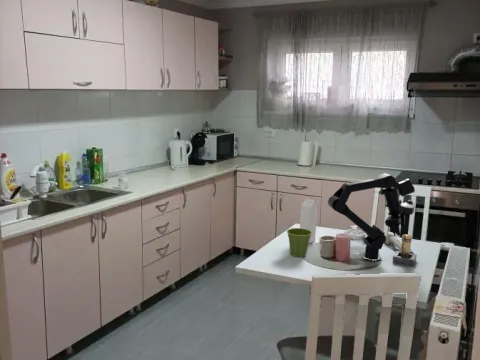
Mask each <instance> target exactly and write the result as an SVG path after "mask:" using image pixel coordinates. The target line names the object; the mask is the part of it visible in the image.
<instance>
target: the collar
mask: <svg viewBox="0 0 480 360" xmlns="http://www.w3.org/2000/svg"><path fill="white" fill-rule="evenodd" d="M400 253H401V251H400V250H396V251H395V252H394V254H393V255H392V263H393V264H397V265H403V266H408V267H414V266H415V264H416V261H417V257H418V256H417V255H418V254H416V253H414V254H411V253H410V256H409V258H405V257H400Z"/></svg>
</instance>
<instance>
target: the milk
mask: <svg viewBox="0 0 480 360" xmlns="http://www.w3.org/2000/svg"><path fill="white" fill-rule="evenodd" d="M317 218H318V205H317V204H316V202H315V200H314V199H310V198H307V197H306V198H304V201H303V202H302V204H301V205H300V217H299V228H303V229H308V230H310V231H312V234H311V236H310V239H309V243H308V245H309V244H312V243H314V242H316V233H317Z"/></svg>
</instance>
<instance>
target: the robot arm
mask: <svg viewBox="0 0 480 360" xmlns="http://www.w3.org/2000/svg"><path fill="white" fill-rule="evenodd" d="M370 189H380V190H379V192H378V194H379V195H381V196H384V199H385V202H386V203H385V208H387V210H388V212H387V214H388V216H387V218H386V219H385V221H384V224H385V226H386V227H389V228H390V230H391V231H393V233H394V234H396V236H398V237H400V236H401V229H400V226H401V227H402V228H406V227H405V226H406V214H408V215H411V216H412V215H413V214H414V212H415V206H416V205H415V203H414V202H413V200H411V199H408V200H407V202H406V201H405V202H403V201H402V199H400V198H399V196H401V197H406V196H408V195H411V194H413V193H415V187H414V184H413V183H412V182H411V180H410V179H409V178H406V179H404V180H402V181H399V182H398V181H396V178H395V177H394V176H393V175H391V174H388V173H385V172H384V173H381V174H378V175H376V176H374V177H373V178H367V179H363V180H359V181H358V180H357V181H351V182H345V183H343V184H342V185H341V187H340V188H338V190H336V191H335V192H334V193H333V195H331V196H330V197H329V198H328V200H327V205H328V206H329V207H330V208H331V209H332V210H333V211H336V212H337V213H338V214H340V215H343V216H345V218H347V219H348V220H350V221H351V222H352V223H353V224H354V225H356V226H357V227H358V228H359V229H361V230H362V231H363V232H364V233H365V235H366V237H364V238H363V243H364V244H365V252H364V256H365V257H366V258H369V259H378V257H379V255H380V250H382V248H383V246H384V244H385V241H386V233H385V232H384V231H383V230H381V229H380V227H378V226H376V225H375V224H373V225H372V226H371V225H370V224H368V223H367V222H366V221H364V220H363V219H362V218H361V217H359V216H358V215H357V214H356V213H355V212H354V211H353V210H351V209H350V208H349V206H348V205H347V204H346V203H347V202H348V200H349V197H350V195H351V194H352V193H355V192H360V191H365V190H370Z"/></svg>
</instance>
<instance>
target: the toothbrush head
mask: <svg viewBox="0 0 480 360" xmlns="http://www.w3.org/2000/svg"><path fill="white" fill-rule="evenodd" d="M385 236H386V241H385V243H384V244H385V245H388V246H395V247H396V248H397V249H398V251H401V244H402V240H401V239H399V238H398V237H396V236H395V232H391V231H387V232H386V234H385ZM410 253H411V254H415V252H413V250H412V248H410Z"/></svg>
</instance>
